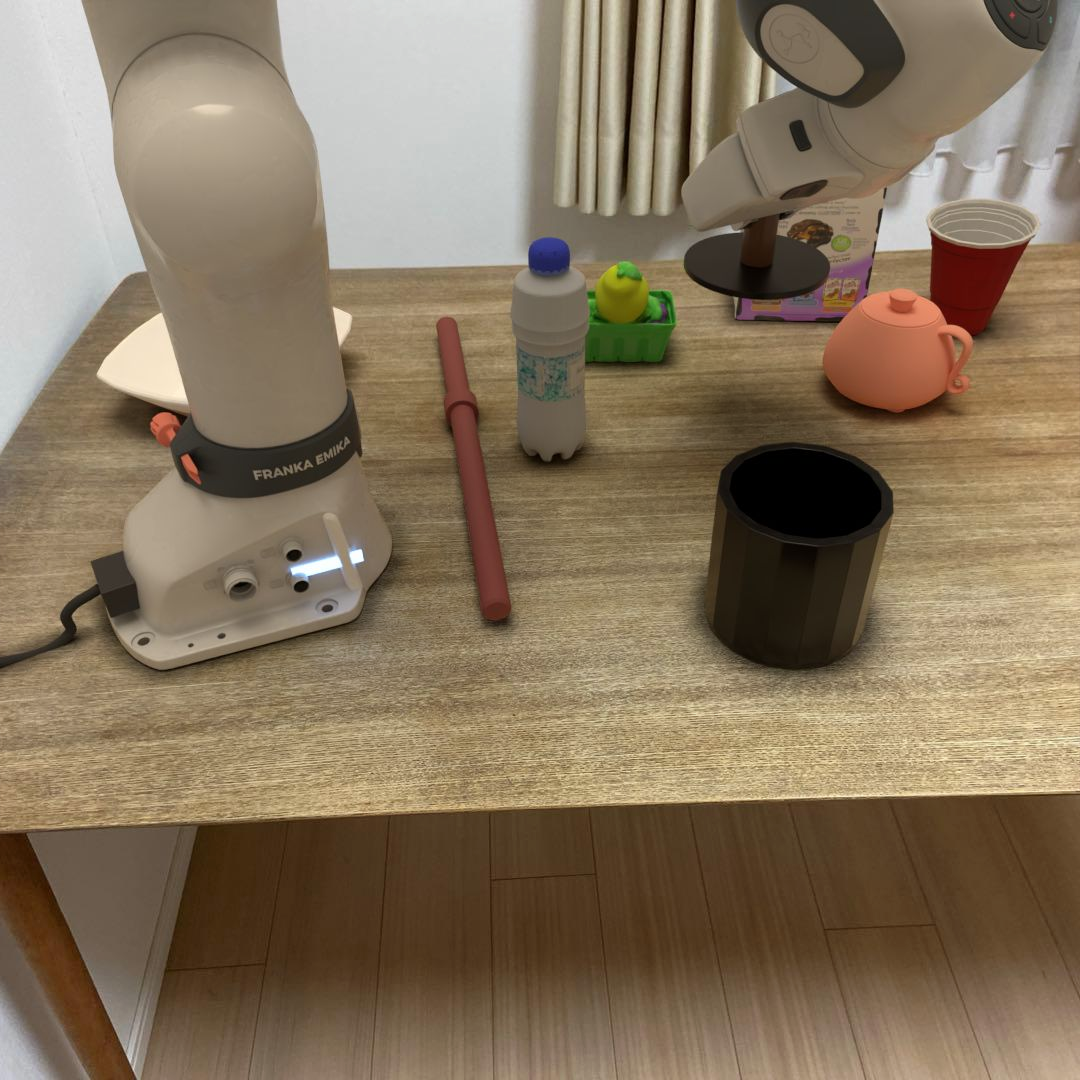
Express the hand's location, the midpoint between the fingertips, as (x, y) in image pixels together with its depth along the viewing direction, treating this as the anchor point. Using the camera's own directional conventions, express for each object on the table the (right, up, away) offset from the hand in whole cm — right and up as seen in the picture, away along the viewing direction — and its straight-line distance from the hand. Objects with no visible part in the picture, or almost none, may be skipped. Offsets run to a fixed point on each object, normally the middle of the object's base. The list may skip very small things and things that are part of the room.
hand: (757, 216), depth 86 cm
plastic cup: (+27, -4, +25) cm, 37 cm away
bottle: (-17, -19, +8) cm, 27 cm away
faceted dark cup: (0, -33, -9) cm, 34 cm away
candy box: (+10, -2, +28) cm, 30 cm away
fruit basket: (-10, -8, +21) cm, 25 cm away
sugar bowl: (+16, -13, +15) cm, 25 cm away
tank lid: (0, -4, +2) cm, 4 cm away
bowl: (-49, -12, +17) cm, 53 cm away
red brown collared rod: (-25, -20, +8) cm, 33 cm away
